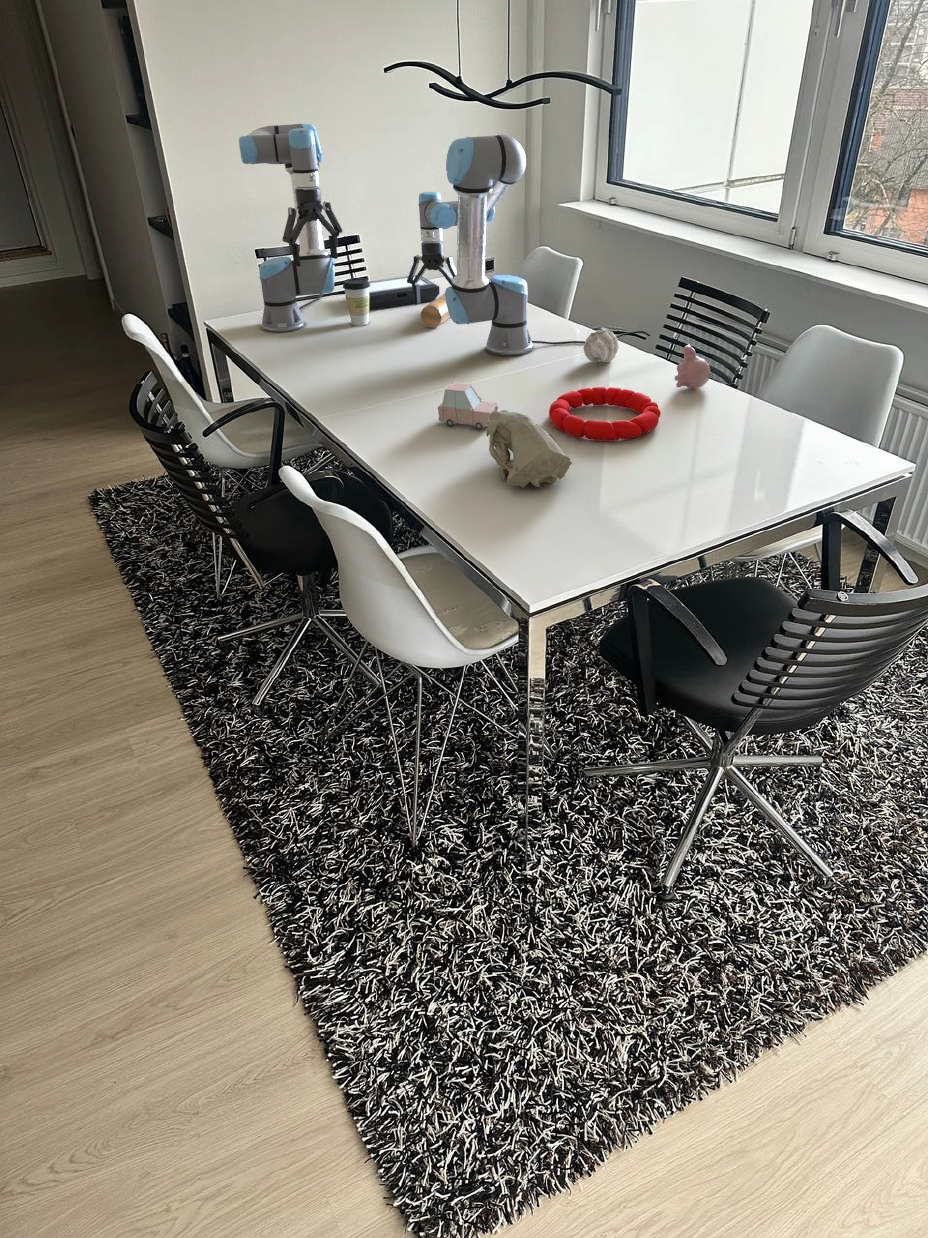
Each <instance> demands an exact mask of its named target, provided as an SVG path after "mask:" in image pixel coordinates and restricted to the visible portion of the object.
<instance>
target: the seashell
mask: <svg viewBox="0 0 928 1238" xmlns="http://www.w3.org/2000/svg"><path fill="white" fill-rule="evenodd" d="M616 336H617V335H616V334H614V332H613V331H612V330H603V329H600V330H599V329H597V330H596V331H594V332H591V333H590V334H589V335H588V336H587V338H586V339H585V341H586V342H585V344H584V343H583V347H582V348H583V353H584V355H585V357H586V358H587V360H589V361H591V362H593V363H598V362H602V363H606V362H608V363H609V362H611V361H613V359H614V358H615V357H616V355H617V353H618V352H619V349H620V346H619V345H620V344H619V343H620V342H619V340H618V338H616Z"/></svg>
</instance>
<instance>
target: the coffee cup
mask: <svg viewBox="0 0 928 1238" xmlns="http://www.w3.org/2000/svg"><path fill="white" fill-rule="evenodd" d="M369 282H370V281H369V279H367V278H365V277H351V278H347V279H345V280H344V281H343V285H342V288H343V290H344V297H345V301H346V305H347V310H348V314H349V318H350V323H351V325H353V326H357V327H359V326H365V325H368V324H369V317H370V316H369V313H370V310H369V287H370V283H369Z"/></svg>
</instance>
